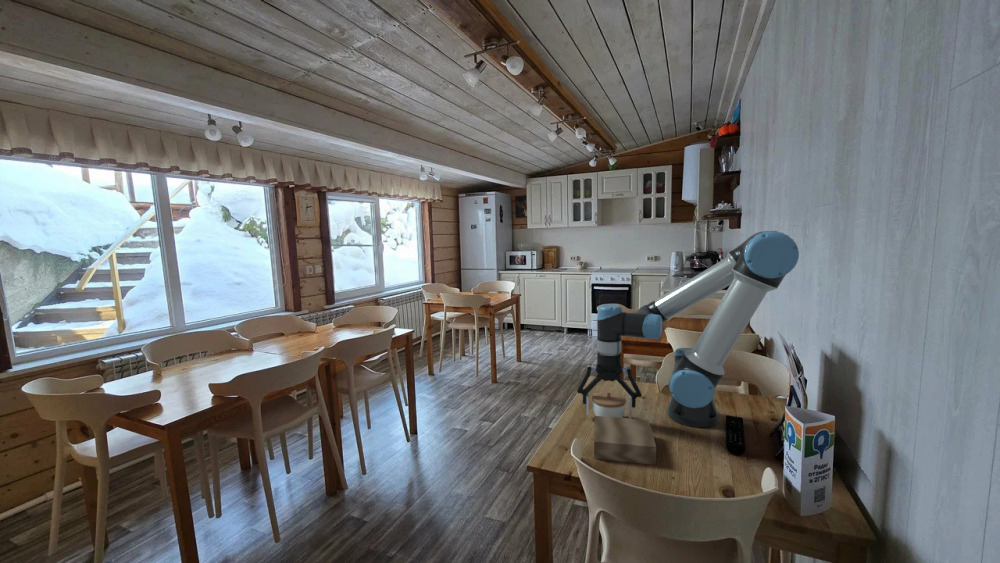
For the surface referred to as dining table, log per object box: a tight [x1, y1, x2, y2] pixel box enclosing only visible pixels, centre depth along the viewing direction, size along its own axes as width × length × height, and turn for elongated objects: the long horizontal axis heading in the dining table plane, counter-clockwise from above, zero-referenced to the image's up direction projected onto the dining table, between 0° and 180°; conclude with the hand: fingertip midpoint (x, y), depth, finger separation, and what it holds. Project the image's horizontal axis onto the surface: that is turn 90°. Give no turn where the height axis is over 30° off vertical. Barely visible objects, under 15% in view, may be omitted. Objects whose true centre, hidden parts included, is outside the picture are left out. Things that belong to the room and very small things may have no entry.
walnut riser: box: [593, 415, 657, 466], centre depth 117 cm, size 16×16×5 cm
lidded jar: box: [591, 391, 627, 418], centre depth 134 cm, size 11×11×9 cm
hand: (608, 414), depth 134 cm, fingers open, 13 cm apart
